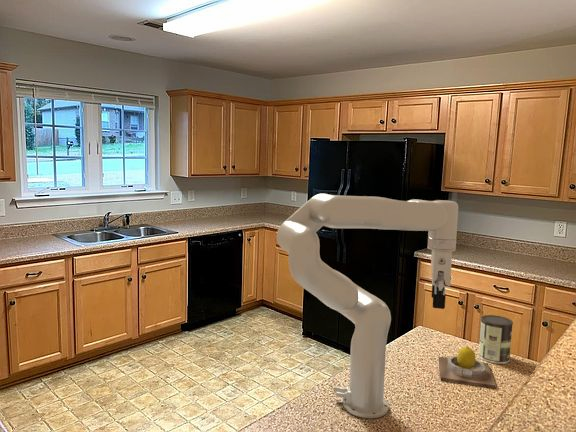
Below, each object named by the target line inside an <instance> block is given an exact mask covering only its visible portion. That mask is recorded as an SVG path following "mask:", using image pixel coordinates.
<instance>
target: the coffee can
mask: <svg viewBox="0 0 576 432" xmlns="http://www.w3.org/2000/svg"><path fill="white" fill-rule="evenodd" d="M513 325H514V321H513V320H511V319H510V318H507V317H505V316H500V315H494V314H486V315H482V316H481V317H480V331H479V345H478V357H479V358H480V359H481V360H483V361H484V362H487V363H490V364H496V365H497V364H498V365H505V364H506V365H507V364H509V362H510V361H511V346H512V345H511V343H512V333H513Z"/></svg>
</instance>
